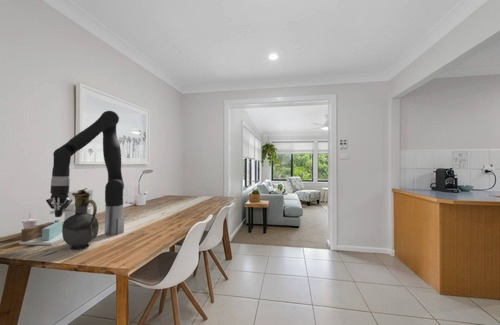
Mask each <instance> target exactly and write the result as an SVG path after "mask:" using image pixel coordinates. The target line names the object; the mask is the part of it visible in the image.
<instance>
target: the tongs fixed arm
mask: <svg viewBox="0 0 500 325" xmlns="http://www.w3.org/2000/svg"><path fill="white" fill-rule="evenodd" d="M54 223H55V221H54V222H53V221H51V222H45V223H41V224H38V225H37V224H36V226H33V227H29V228H26V229H24V228H23V229H21V234H20V238H21V239H20V242H21V241H29V240H32V239H35V238H38V237H41V236H42V229H44V228H46V227H48V226H50V225H52V224H54Z"/></svg>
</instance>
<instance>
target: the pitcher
mask: <svg viewBox="0 0 500 325" xmlns="http://www.w3.org/2000/svg"><path fill="white" fill-rule="evenodd" d="M87 190H88V188H87V187H86V188H84V189H79V190H77V191H79V192H78V193H72V195H73V196H74V197H75V215H73V216H70V217H69V218H67V219H66V220H65V221H64V222H63V226H62V235H63V240H64V242H65V243H66V244H67V245H69V246H70V249H71V250H72V251H78V250H79V251H80V250H84V249H87V248H89V247H90V244H89V243H91V242H92V241H94V240H95V239H96V238H97V236H98V233H99V221H98V218H97V217H96V214H97V211H98V210H97V207H98V206H97V203H96V201H95V200H94V199H92V200H89V196H90V195H91V194H89V193H88V192H86V191H87ZM89 203H91V204H92V205H93V208H92V209H93V211H92V213H90V214H88V213H87V210H88V205H89Z"/></svg>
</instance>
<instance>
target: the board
mask: <svg viewBox="0 0 500 325" xmlns="http://www.w3.org/2000/svg"><path fill="white" fill-rule="evenodd" d="M63 241H64V240H63V235H62V232H61V233H60V234H58V235H57V236H55V237H53V238H52V239H50V240H43V241H42V236H41V237H38V238H35V239H32V240H29V241H21V240H20V241H19V245H29V246H31V245H32V246H33V245H34V246H35V245H36V246H39V245H40V246H53V245H56V244H58V243H61V242H63ZM64 242H65V241H64Z"/></svg>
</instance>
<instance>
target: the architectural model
mask: <svg viewBox="0 0 500 325" xmlns="http://www.w3.org/2000/svg"><path fill="white" fill-rule="evenodd" d="M85 191H86V192H88V193H89V194H91V195H90V196H89V200H93V192H94V190H93V189H89V190H88V189H86V190H85ZM78 192H79V191H78V190H75V191H69V193H68V198H69V199H70V200H71V199H72V202H71V203H70V204H69V206H68V207H67V208H65V209H63V212H62V215H64V221H65V220H66V219H67V218H69V217H70V216H73V215H75V197H74V196H73V195H72V193H78ZM57 207H58V206H57ZM92 209H93V205H92V204H91V203H89V205H88V210H87V213H88V214H91V210H92ZM49 214H50V215H53V214H54V215H55V210H52V211H50V212H49Z"/></svg>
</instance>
